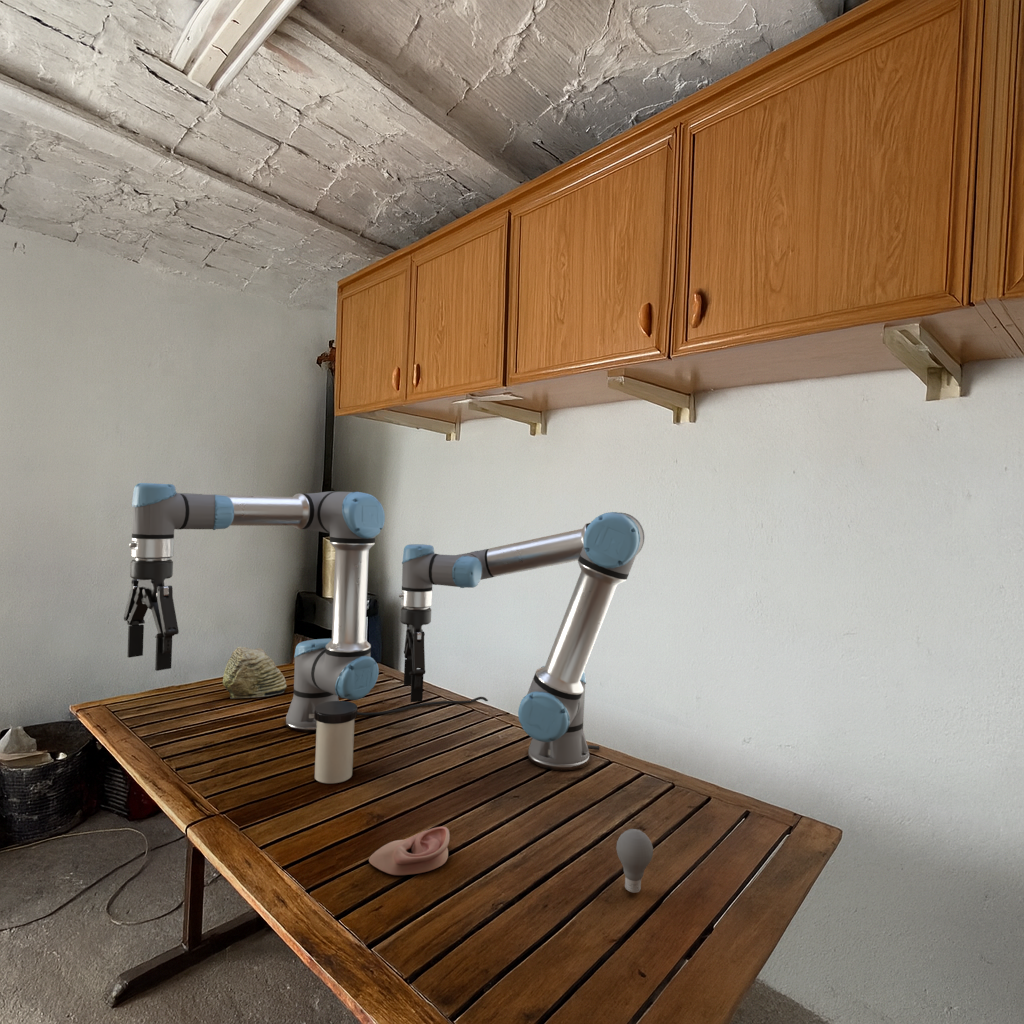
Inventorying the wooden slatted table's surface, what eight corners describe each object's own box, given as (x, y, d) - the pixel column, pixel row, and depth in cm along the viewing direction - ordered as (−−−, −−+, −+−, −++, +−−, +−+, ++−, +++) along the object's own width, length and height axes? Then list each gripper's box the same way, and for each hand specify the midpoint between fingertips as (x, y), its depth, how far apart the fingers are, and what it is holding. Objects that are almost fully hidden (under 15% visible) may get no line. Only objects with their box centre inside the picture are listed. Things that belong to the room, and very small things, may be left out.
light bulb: (610, 879, 108) (613, 822, 108) (644, 879, 109) (647, 822, 109) (619, 902, 102) (622, 840, 102) (655, 901, 103) (658, 840, 103)
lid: (319, 709, 148) (320, 700, 148) (360, 710, 149) (360, 701, 149) (309, 723, 139) (309, 713, 139) (352, 724, 140) (353, 714, 140)
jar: (319, 767, 148) (321, 702, 148) (355, 767, 149) (358, 703, 148) (310, 783, 140) (312, 715, 139) (348, 783, 140) (351, 716, 140)
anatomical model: (361, 846, 108) (388, 814, 119) (360, 870, 108) (387, 835, 119) (436, 859, 105) (456, 825, 117) (435, 882, 105) (455, 846, 117)
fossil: (218, 695, 195) (220, 647, 195) (278, 685, 208) (279, 640, 207) (228, 703, 189) (230, 653, 188) (289, 692, 201) (290, 645, 201)
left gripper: (108, 554, 134) (104, 654, 134) (159, 565, 118) (155, 678, 119) (146, 552, 140) (143, 648, 140) (199, 563, 124) (195, 671, 124)
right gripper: (395, 598, 167) (392, 678, 167) (407, 616, 143) (403, 710, 143) (423, 598, 169) (420, 677, 169) (440, 616, 145) (436, 708, 146)
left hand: (148, 662), depth 129 cm, fingers open, 13 cm apart
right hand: (412, 692), depth 156 cm, fingers open, 13 cm apart
